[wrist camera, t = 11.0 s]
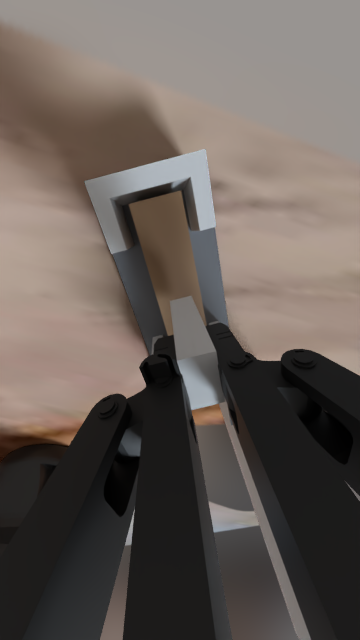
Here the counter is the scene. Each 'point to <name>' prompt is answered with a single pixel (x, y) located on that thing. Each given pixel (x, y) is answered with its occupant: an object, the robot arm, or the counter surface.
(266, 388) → the robot arm
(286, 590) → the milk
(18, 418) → the counter surface
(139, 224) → the slat
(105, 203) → the endcap rail
